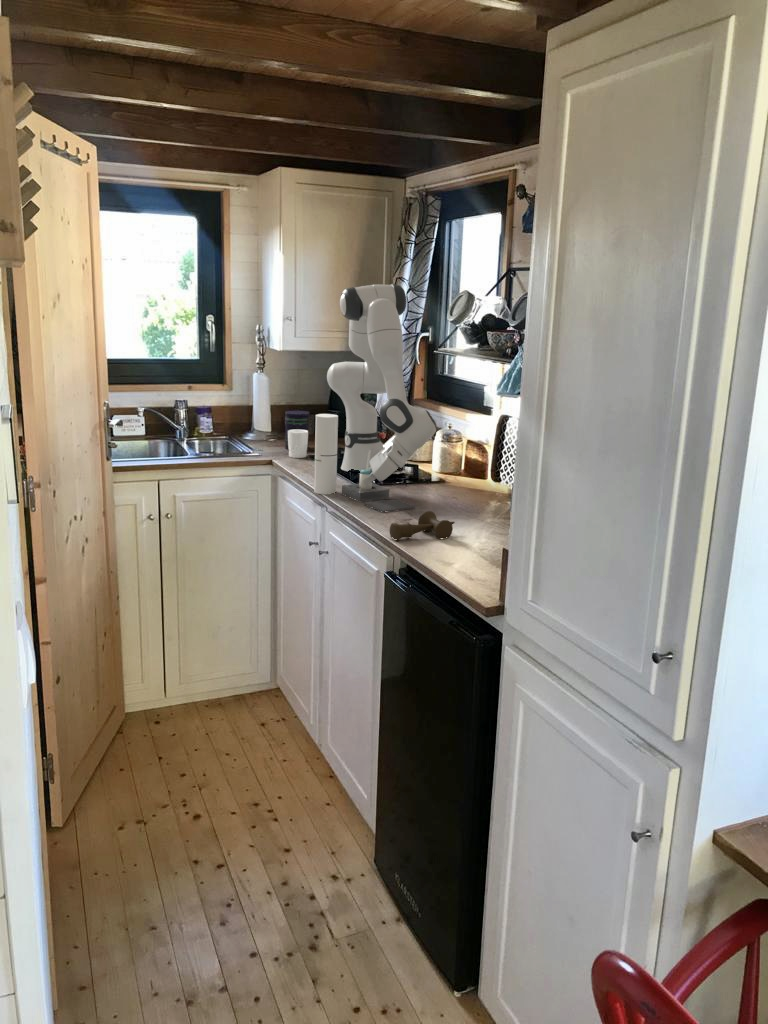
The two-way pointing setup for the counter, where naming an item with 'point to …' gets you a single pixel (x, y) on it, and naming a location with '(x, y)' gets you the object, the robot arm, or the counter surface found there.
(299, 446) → the white cup
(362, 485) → the white bottle teal cap
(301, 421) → the storage jar
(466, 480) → the counter surface
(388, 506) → the mat
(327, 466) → the cylindrical container
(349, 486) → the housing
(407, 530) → the kendama
